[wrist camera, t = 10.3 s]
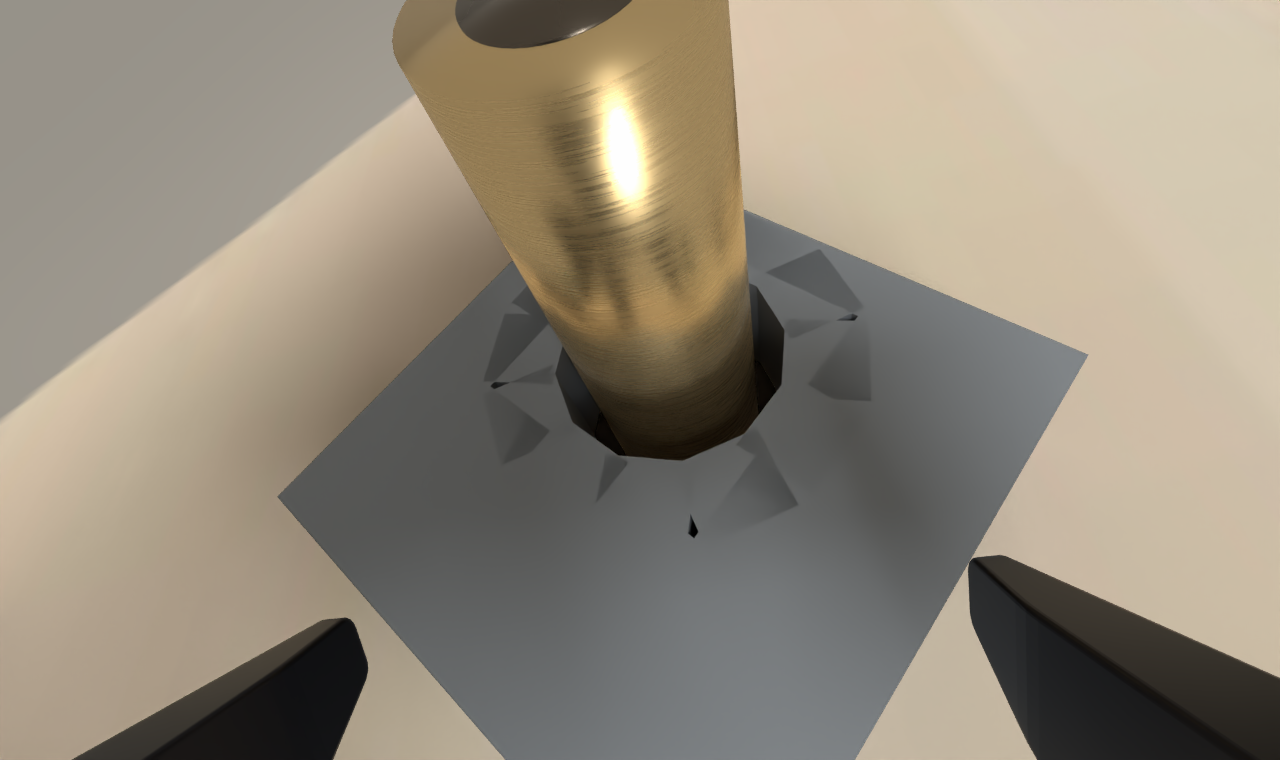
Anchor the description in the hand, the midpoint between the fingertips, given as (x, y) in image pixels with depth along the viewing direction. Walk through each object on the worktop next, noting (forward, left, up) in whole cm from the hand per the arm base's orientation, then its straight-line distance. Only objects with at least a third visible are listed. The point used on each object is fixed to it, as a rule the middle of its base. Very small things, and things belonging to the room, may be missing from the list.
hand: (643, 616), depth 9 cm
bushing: (+4, -5, -8) cm, 10 cm away
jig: (+3, -3, -8) cm, 9 cm away
